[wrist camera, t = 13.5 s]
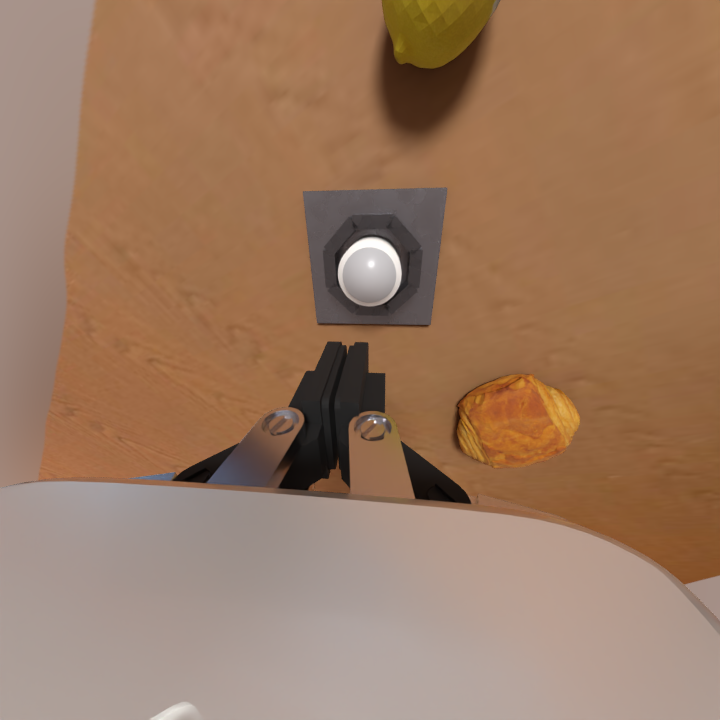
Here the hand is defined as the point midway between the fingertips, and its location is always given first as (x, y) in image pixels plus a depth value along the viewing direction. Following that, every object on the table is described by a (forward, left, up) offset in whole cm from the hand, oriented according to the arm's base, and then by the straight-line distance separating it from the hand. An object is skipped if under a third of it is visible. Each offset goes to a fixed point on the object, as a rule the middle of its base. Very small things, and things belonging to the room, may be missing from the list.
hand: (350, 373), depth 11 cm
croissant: (-20, -19, -23) cm, 36 cm away
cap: (0, 0, -21) cm, 21 cm away
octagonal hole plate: (0, 0, -22) cm, 22 cm away
